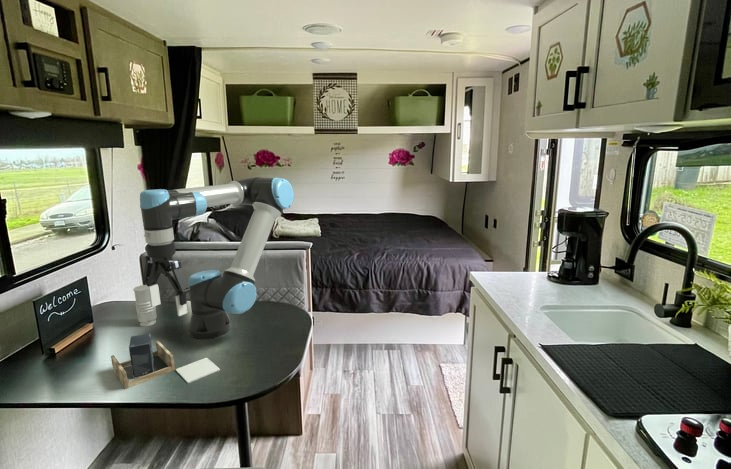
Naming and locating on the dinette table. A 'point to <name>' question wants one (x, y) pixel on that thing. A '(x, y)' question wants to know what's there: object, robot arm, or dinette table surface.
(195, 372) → the mat
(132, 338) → the box
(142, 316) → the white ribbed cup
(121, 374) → the frame
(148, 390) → the dinette table surface
